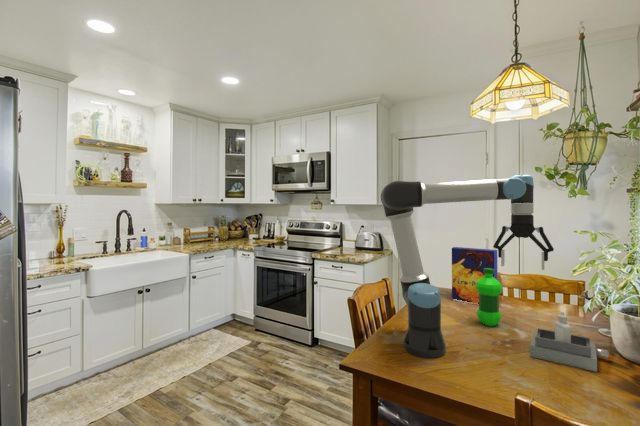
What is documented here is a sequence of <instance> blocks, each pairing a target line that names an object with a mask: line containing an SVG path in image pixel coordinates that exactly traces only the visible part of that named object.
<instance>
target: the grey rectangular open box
mask: <svg viewBox="0 0 640 426" xmlns="http://www.w3.org/2000/svg"><path fill="white" fill-rule="evenodd" d="M529 357H530V358H535V359H540V360H544V361H548V362H552V363H555V364H556V363H557V364H560V365H561V364H562V365H565V366H569V367H573V368H577V369H582V370H586V371H591V372H594V373H597V372H598V357H601V358H606V359H610V351H609V350H606V349H602V348H596V344H595V342H593V341H591V339H590V337H587V336H581V335H578V334H572V333H571V343H567V342H562V341H557V340H555V330H550V329H543V328H537V331H535V330H534V332H533V335H532V338H531V341H530V345H529Z"/></svg>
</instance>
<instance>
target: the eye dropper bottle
mask: <svg viewBox="0 0 640 426" xmlns="http://www.w3.org/2000/svg"><path fill="white" fill-rule="evenodd" d="M557 319H558V320H557V321H555V322H554V331H555V340H557V341H562V342H567V343H571V334H572V333H571V332H572V331H571V329H572V328H571V326H570V324H569V323H568V316H567V315H565V312H564V311H561V312H560V314H558V316H557Z"/></svg>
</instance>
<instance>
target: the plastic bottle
mask: <svg viewBox="0 0 640 426" xmlns="http://www.w3.org/2000/svg"><path fill="white" fill-rule="evenodd" d="M483 273H485V276H484V277H483V278H481V279H480V280H479V281H477V283H476V290H477V291H478V292H479V305H478V310H477V312H476V317H477V319H478V320H479V321H480V322H481V323H482V324H483V325H484V324H485V325H484V326H487V325H489V326H490V327H494V326H495V327H496V325H497V324H499V323H500V322H501V320H502V314H501V311H500V295H501V294H502V292H503V286H502V283H501V282H500V281H499V280H498V279H497V280H496V279H495V278H494V277H493V274H494V269H492V268H484V269H483ZM489 326H488V327H489Z"/></svg>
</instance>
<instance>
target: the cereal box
mask: <svg viewBox="0 0 640 426" xmlns="http://www.w3.org/2000/svg"><path fill="white" fill-rule="evenodd" d="M484 268H492V269H494V274H493V277H494V278H495V279H496V280H497V281H498V249H487V248H486V249H485V248H475V247H461V246H453V247H451V299H452V298H453V299H457V300H462V301H467V302H473V303H478V304H479V292H478V291H477V290H476V283H477V281H479V280H480V279H481V278H483V277H484V276H485V273H483V269H484Z"/></svg>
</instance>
